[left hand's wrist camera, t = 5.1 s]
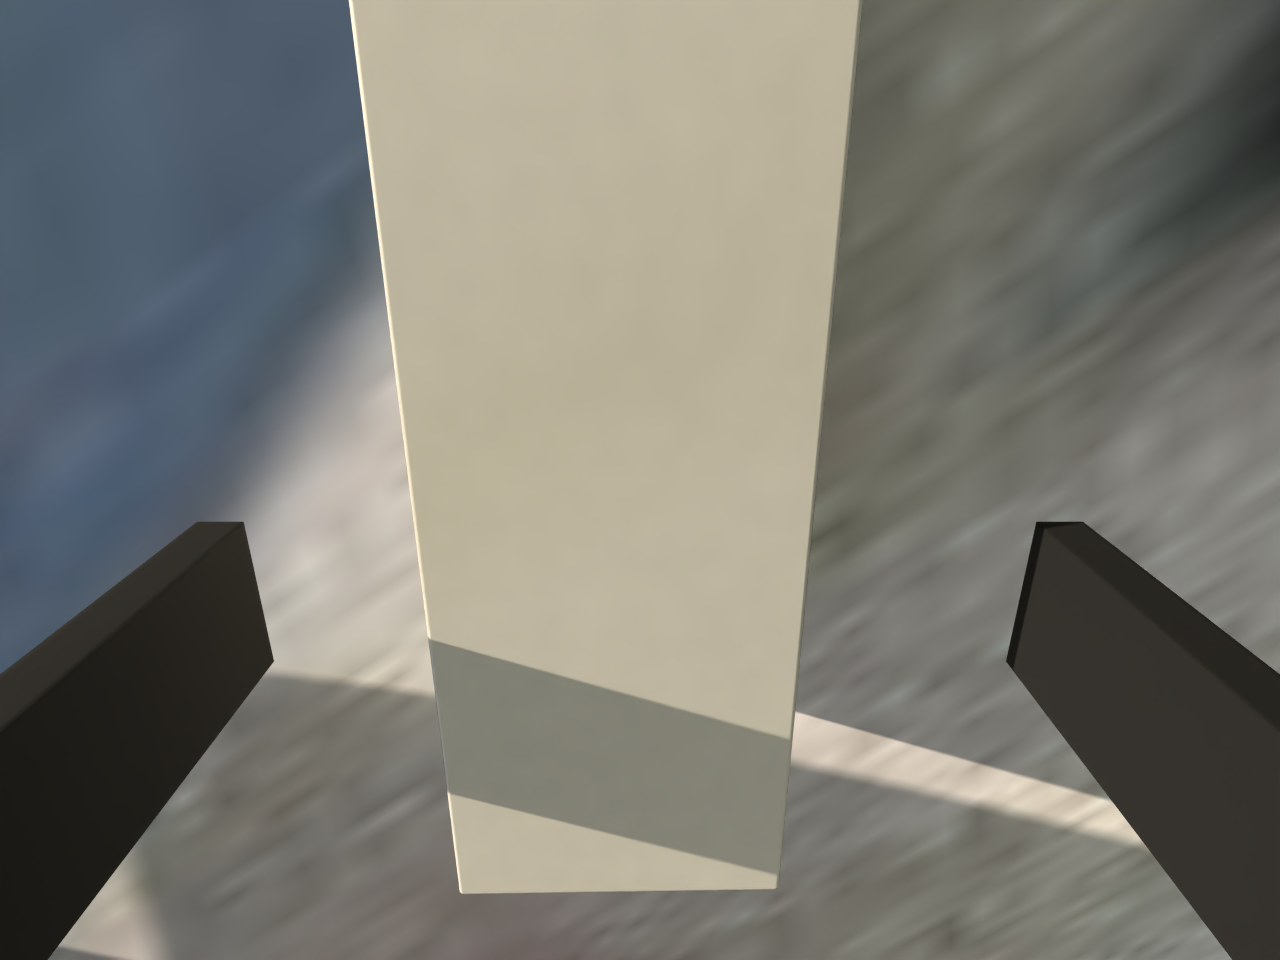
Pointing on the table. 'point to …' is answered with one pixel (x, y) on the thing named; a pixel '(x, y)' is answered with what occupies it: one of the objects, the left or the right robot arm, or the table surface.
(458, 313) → the bar
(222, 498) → the table surface
